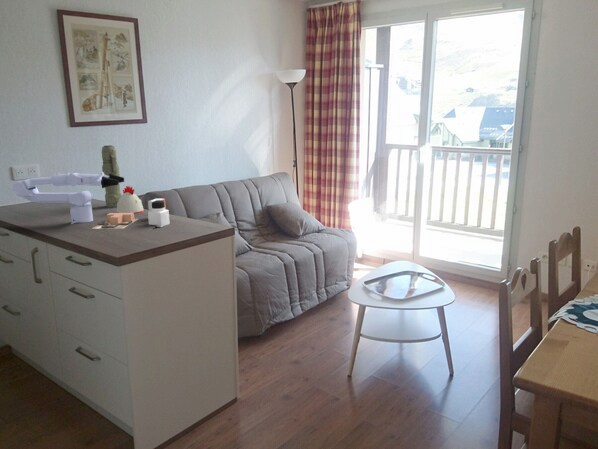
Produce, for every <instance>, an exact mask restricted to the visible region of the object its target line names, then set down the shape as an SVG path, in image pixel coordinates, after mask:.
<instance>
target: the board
mask: <svg viewBox="0 0 598 449" xmlns="http://www.w3.org/2000/svg"><path fill="white" fill-rule="evenodd" d="M138 220H139V218H134V220H133V221H130V222H122V223H118V224H110V222H107V219H106V220H102V221H100V222H99V223H97V225H95V226H94V227H92V228H91V230H97V229H98V230H100V229H101V230H103V229H104V230H105V229H108V230H112V229H114V230H117V229H119V230H121V229H125V228H126V227H128V226H130V225H132V224H133V223H134V222H136V221H138Z"/></svg>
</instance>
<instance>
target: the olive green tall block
mask: <svg viewBox="0 0 598 449" xmlns="http://www.w3.org/2000/svg"><path fill="white" fill-rule="evenodd" d="M101 158H102V165H101V170H102V171H101V172H104V174H105V175H107V176H109V173H112V174H114V175H116V176H120V167H119V165H118V161H117V150H116V148H115V146H113V145H103V146H102V149H101ZM104 189H105V193H104V194H105V195H104V199H105V200H104V201H105V205H106V208H108V209H113V208H116V209H117V203H118V201H119V199H120V197H121V196H122V195H123V194H122V193H121V187H120V184H119V185H114V186H108V187H105V188H104Z"/></svg>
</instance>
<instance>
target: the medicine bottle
mask: <svg viewBox="0 0 598 449" xmlns="http://www.w3.org/2000/svg"><path fill="white" fill-rule="evenodd" d="M151 208H152V211H149V210H148V211H147V219H148V225H149V226H150V225H152V226H153V225H154V227H156V228H163V227H165V226H168V225H170V223H171V222H170V221H171V220H170V212H169V209H166V210H164V209H165V206H164V201H162V200H155V201H152V202H151Z"/></svg>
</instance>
